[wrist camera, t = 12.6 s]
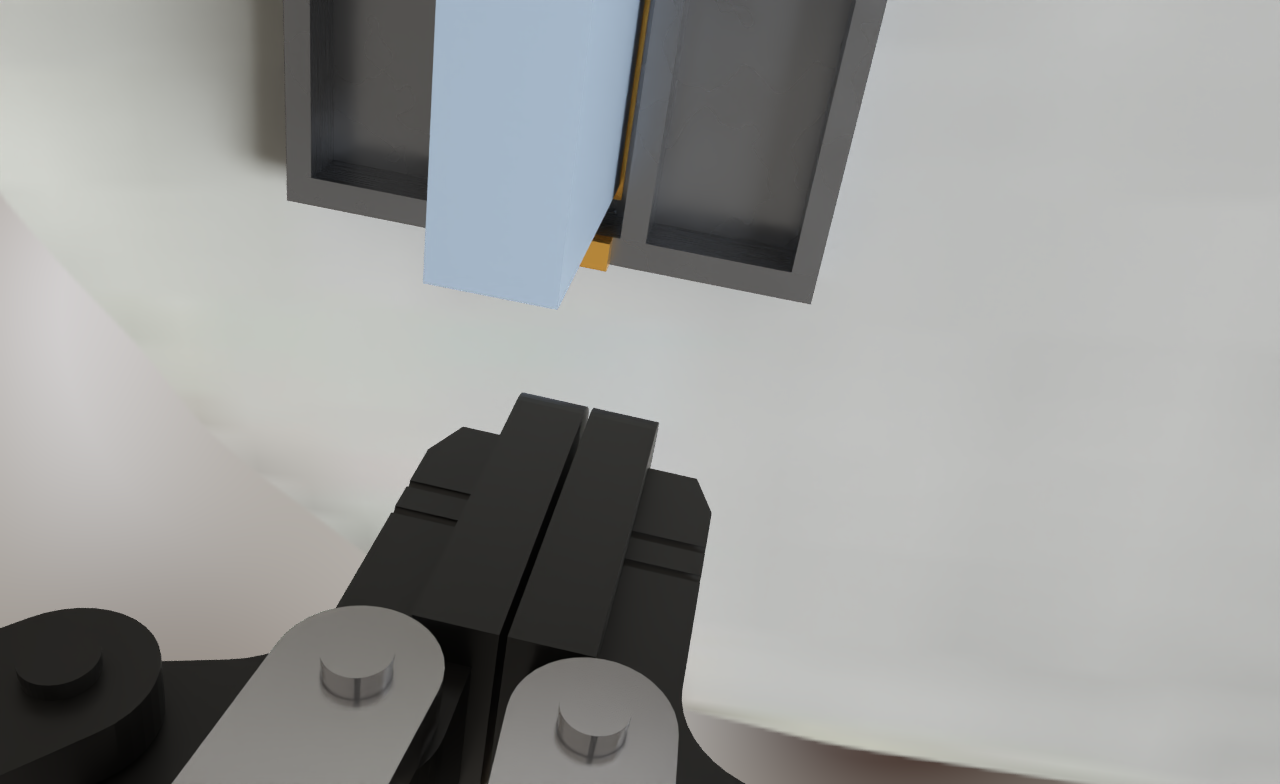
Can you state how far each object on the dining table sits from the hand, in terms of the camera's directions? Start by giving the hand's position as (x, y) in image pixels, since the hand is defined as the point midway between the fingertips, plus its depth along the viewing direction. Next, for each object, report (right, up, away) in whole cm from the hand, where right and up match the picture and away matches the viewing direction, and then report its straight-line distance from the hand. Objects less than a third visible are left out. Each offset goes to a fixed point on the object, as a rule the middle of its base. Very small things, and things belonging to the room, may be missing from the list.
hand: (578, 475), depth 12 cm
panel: (-1, +11, +17) cm, 20 cm away
